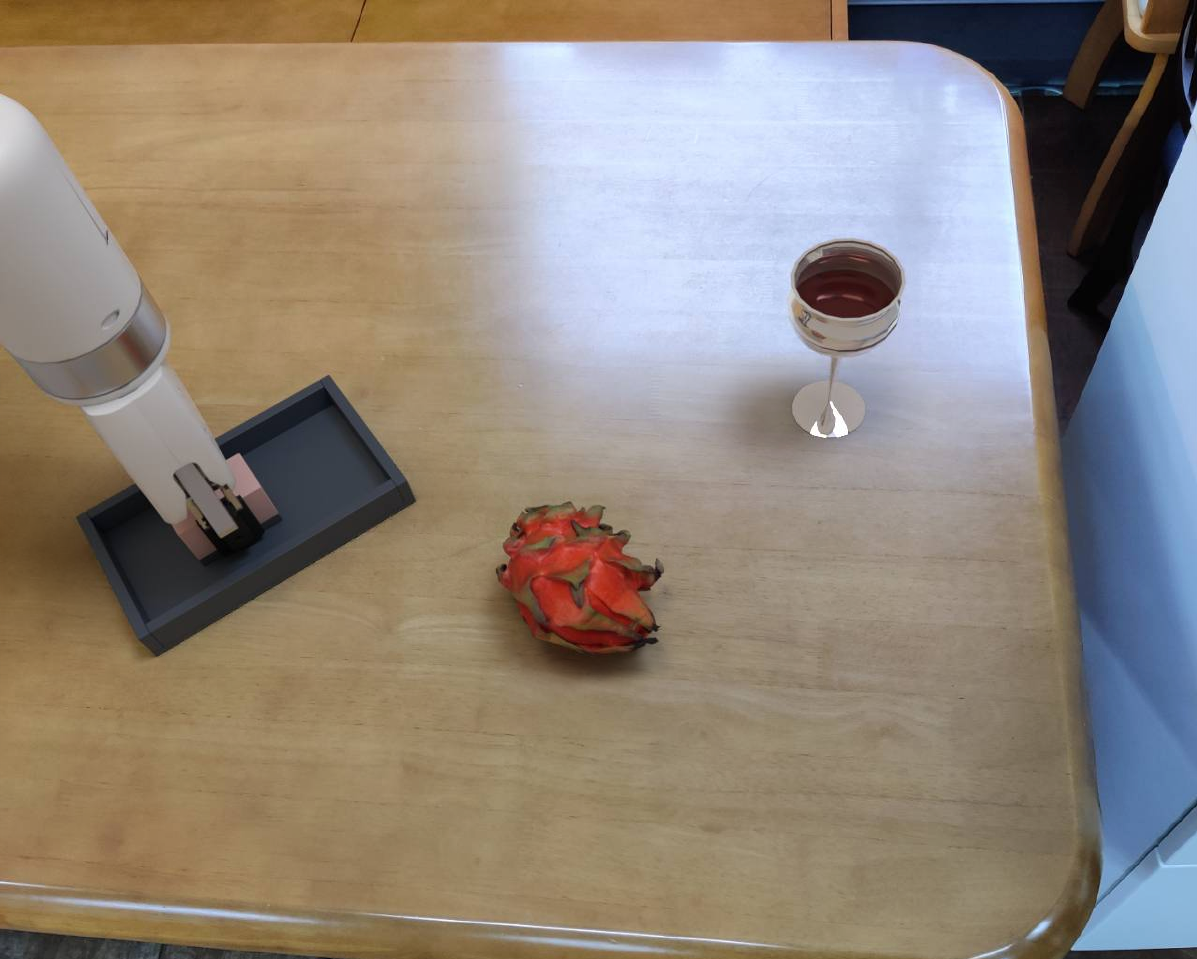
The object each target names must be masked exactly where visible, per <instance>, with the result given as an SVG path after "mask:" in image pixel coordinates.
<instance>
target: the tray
mask: <svg viewBox="0 0 1197 959" xmlns="http://www.w3.org/2000/svg"><path fill="white" fill-rule="evenodd" d="M214 439H215V441H216V443H217V445H218V446H219V448H220V450H221V452H222V454H223V456H224V458H225V460H227V459H229V458H231V457H233V456H234V455H236V454H238V453H239V454H240V455H241V456H242V458H243V459H244V461H245V462H246V464H247V465H248V467H249V468H250V470H251V471H252V473H253V474H254V476H255V477H256V479H257V481H258V482H259V484H260V485H261V487H262V488H263V490H264V491H265V493H266V494H267V496H268V497H269V499H270V500H271V502H272V503H273V505H274V506H275V508H276V510H277V511H278V513H279V514H280V516H281V517H282V521H280V522H278V523H277V524H275V525H273V526H272V527H270V528H268V529H266V530H265V532H264V534H263V535H262V536H261V537H259V538H257V539H256V540H254V541H252V542H250V543H249V544H248V545H246V546H245V547H243V548H241V549H239V550H237V551H235V552H234V553H232V554H230V555H228V556H221V557H219V558H218V559H216V560H214V561H212V562H211V563H209V564H207V565H206V566H204V565H203V564H202V563H201V562H200V561H199V559H198V558H197V557H196V556H195V555H194V554H193V552H192V551H191V550H190V549H189V548H188V547H187V545H186V544H185V543H184V542H183V541H182V539H181V538H180V537H179V536H178V535H177V533H176V531H175V529H174V528H173V526H172V524H169V523H167V522H165V521H164V520H163V518H162V517H161V516H160V514H159V513H158V512H157V510H156V509H155V508H154V506H153V505H152V504H151V502H150V501H149V500H148V498H147V497H146V496H145V495H144V493H143V492H142V491H141V490H140V488H139V487H138V486H137V484H136V483H135V482H134V483H133V484H131V485H130V486H128V487H125V488H124V489H123V490H121V491H118V492H117V493H115V494H114V495H111V496H110V497H108V498H106V499H105V500H103V501H101V502H99V503H97V504H96V505H93V506H92V507H90V508H89V509H86V511H83V512H81V513H80V514H78V515H76V516H75V519H76V521H77V523H78V525H79V527H80V529H81V531H82V533H83V534H84V537H85V540H87V542H88V543H87V544H89V546H90V549H91V550H92V552H93V554H94V556H95V558H96V560H97V562H98V565H99V566H100V568H101V570H102V572H103V574H104V576H105V578H106V580H107V582H108V584H109V586H110V587H111V589H112V592H113V594H114V595H115V597H116V599H117V601H118V603H119V605H120V607H121V609H122V611H123V613H124V615H125V617H126V618H127V620H128V622H129V624H130V627H131V628H132V630H133V632H134V634H135V637H136V638H137V640H138V641H139V642H140V643H141V644H142V645H143V646H144V647H146V649H147V650H149V651H150V652H151V653H152V654H153V655H154V656H155V657H159V656H160V655H162V654H163V653H165V652H167V651H168V650H170V649H172V648H173V647H175V646H176V645H178V644H180V643H181V642H184V641H185V640H187V639H188V638H190V637H192V636H194V635H195V634H197V633H198V632H200V631H202V630H203V629H205V628H207V627H208V626H211V625H212V624H213V623H215V622H217V621H218V620H220V619H222V618H223V617H225V616H227V615H229V614H230V613H231V612H234V611H236V610H237V609H238V608H241V607H242V606H243V605H245V604H247V603H248V602H251V600H253V599H255V598H257V597H258V596H260V595H262V594H264V593H265V592H267V591H268V590H270V589H272V588H274V587H275V586H276V585H278V584H280V583H282V582H284V581H285V580H287V579H289V578H290V577H292V576H293V575H295V574H297V573H299V572H300V571H302V570H303V569H305V568H307V567H308V566H310V565H312V564H313V563H315V562H317V561H318V560H320V559H322V558H323V557H325V556H327V555H328V554H330V553H332V552H333V551H335V550H337V549H339V548H340V547H342V546H343V545H345V544H347V543H348V542H350V541H352V540H353V539H355V538H356V537H359V536H360V535H362V534H363V533H365V532H366V531H368V530H370V529H372V528H373V527H375V526H376V525H378V524H380V523H381V522H384V521H385V520H387V519H388V518H390V517H392V516H394V515H395V514H396V513H398V512H400V511H402V510H403V509H405V508H407V507H409V506H410V505H412V504H414V503H415V502H417V500H416V497H415V495H414V493H413V490H412V488H411V486H410V483H409V481H408V480H407V478H406V477H405V475H404V474H403V473H402V471H401V470H400V469H399V466H397V464H396V463H395V461H394V460H393V459H392V457H391V456H390V455H389V454H388V452H387V451H386V449H385V448H384V447H383V445H382V444H381V443H380V441H379V440H378V439H377V437H376V436H375V435H374V433H373V432H372V430H371V429H370V428H369V426H368V425H367V423H365V421H364V419H362V417H361V416H360V414H359V413H358V412H357V410H356V409H355V407H354V406H353V405H352V404H351V402H350V401H349V400H348V398H347V397H346V396H345V394H344V392H343V391H342V390H341V389H340V387H339V386H338V385H337V383H336V382H335V380H334V379H333V377H331V375H330V374H327V375H325V376H323V377H321V378H320V379H319V380H317V381H315V382H313V383H310V384H309V385H308V386H306V387H304V388H302V389H300V390H298V391H297V392H295V393H292V394H291V395H289V396H288V397H286V398H285V399H283V400H281V401H279V402H277V403H275V404H274V405H272V406H270V407H268V408H266V409H265V410H263V411H261V412H259V413H258V414H256V415H254V416H253V417H251V418H248V419H247V420H246V421H243V422H242V423H240V424H238V425H237V426H234V427H233V428H231V429H229V430H228V431H225V432H224V433H222V434H221V435H218V436H217V437H214Z"/></svg>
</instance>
